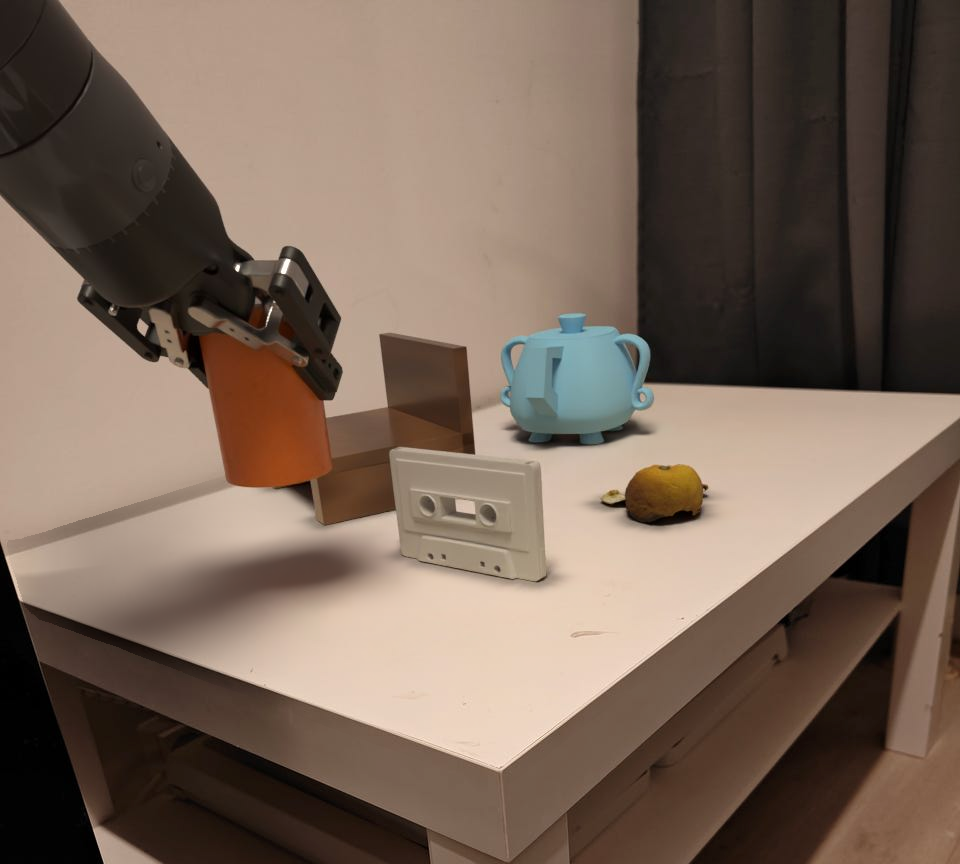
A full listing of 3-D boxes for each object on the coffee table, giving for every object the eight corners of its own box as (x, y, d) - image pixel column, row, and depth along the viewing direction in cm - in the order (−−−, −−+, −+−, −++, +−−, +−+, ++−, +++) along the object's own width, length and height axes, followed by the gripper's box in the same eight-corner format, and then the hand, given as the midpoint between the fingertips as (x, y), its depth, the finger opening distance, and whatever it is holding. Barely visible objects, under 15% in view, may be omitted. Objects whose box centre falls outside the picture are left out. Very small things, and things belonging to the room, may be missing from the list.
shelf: (324, 525, 75) (300, 372, 70) (268, 484, 88) (245, 353, 83) (478, 491, 80) (466, 346, 75) (404, 457, 93) (390, 332, 88)
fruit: (700, 489, 75) (700, 444, 74) (731, 520, 68) (732, 470, 66) (598, 499, 75) (597, 454, 74) (617, 531, 68) (616, 481, 66)
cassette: (395, 557, 66) (382, 451, 63) (413, 549, 68) (400, 444, 64) (535, 585, 59) (529, 467, 56) (551, 575, 61) (546, 459, 58)
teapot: (622, 460, 85) (620, 325, 80) (463, 453, 93) (452, 329, 88) (684, 413, 101) (685, 298, 96) (543, 410, 109) (538, 303, 104)
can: (241, 494, 54) (207, 310, 50) (215, 472, 60) (182, 303, 55) (347, 473, 57) (323, 296, 53) (313, 454, 62) (289, 291, 58)
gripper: (250, 97, 41) (399, 334, 56) (12, 130, 47) (205, 339, 61) (199, 234, 39) (368, 444, 54) (-45, 253, 45) (169, 439, 59)
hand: (281, 387), depth 58 cm, fingers closed on can, 6 cm apart
